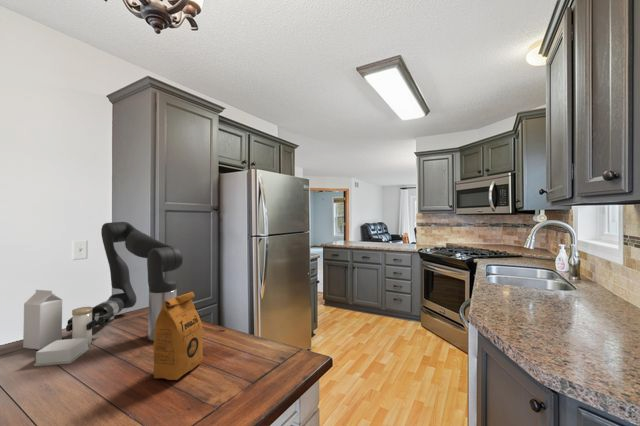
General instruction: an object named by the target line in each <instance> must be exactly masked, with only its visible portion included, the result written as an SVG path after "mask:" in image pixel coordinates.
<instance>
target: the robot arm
mask: <svg viewBox="0 0 640 426" xmlns="http://www.w3.org/2000/svg"><path fill="white" fill-rule="evenodd" d="M101 226H102V227H101V230H100V231H101V239H102V243H103V247H104V252H105V255H106V259H107V263H108V267H109V271H110V272H109V273H110V281H111V287H112V289H114V290H115V289H116V290H122V291H123V292H120V293H115V294H112V295H110V296H109V297H108V299H107V300H105V301H103V302H100V303H99V304H97V305H95V306H93V311H92V321H91V322H90V323H88V324H87V330H90V329H92V330H93V329H94V328H98V327H99V326H101V327H104V326H106V325H107V324H110V323H113V322H114V321H115V316H116V315H117V314H119V313H120V312H121V311H122V310H123V309H129V308H133V307H134V306H135V305H136V304H137V295H136V293H135V291H134V289H133V286H132V284H131V278H130V277H131V276H130V268H129V266H128V265H127V263H126V262H125V261H124V259H123V258H122V257H121V256H120V254H119V253H118V252H117V251H116V248H115V245H114V243H123V242H124V245H125V248H126V250H127V251H128V252H130V254H133V255H134V256H135V257H139V258H143V259H146V266H147V267H146V268H147V270H146V271H147V284H148V332H147V335H148V340H149V341H153V342H154V331H155V324H156V320H157V317H158V315H159V313H160V311H161V309H162V307H163V304H164V302H165V301H167V300H170V299H172V298H174V297H178V295H177V290H178V287H177V285H178V283H177V281H176V280H173V279H168V278H165V277H164V273H167V272H172V271H176V270H178V269H179V268H181V266H183V261H184V257H183V254H182V252H181V251H180V249H178V248H177V247H176V246H172V245H169V244H166V243H164V242H161V241H160V240H158V239H156V238H154V237H151V236H150V235H148V234H146V233H144V232H143V231H141V230H139V229H137V228H136V227H135V226H133V225H132V224H130V223H129V222H127V221H118V222H117V221H115V222H113V221H112V222H105V223H103V224H102V225H101ZM65 330H66V332H71V331H72V317H70V318H69V319H68V320H67V325H65Z"/></svg>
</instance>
